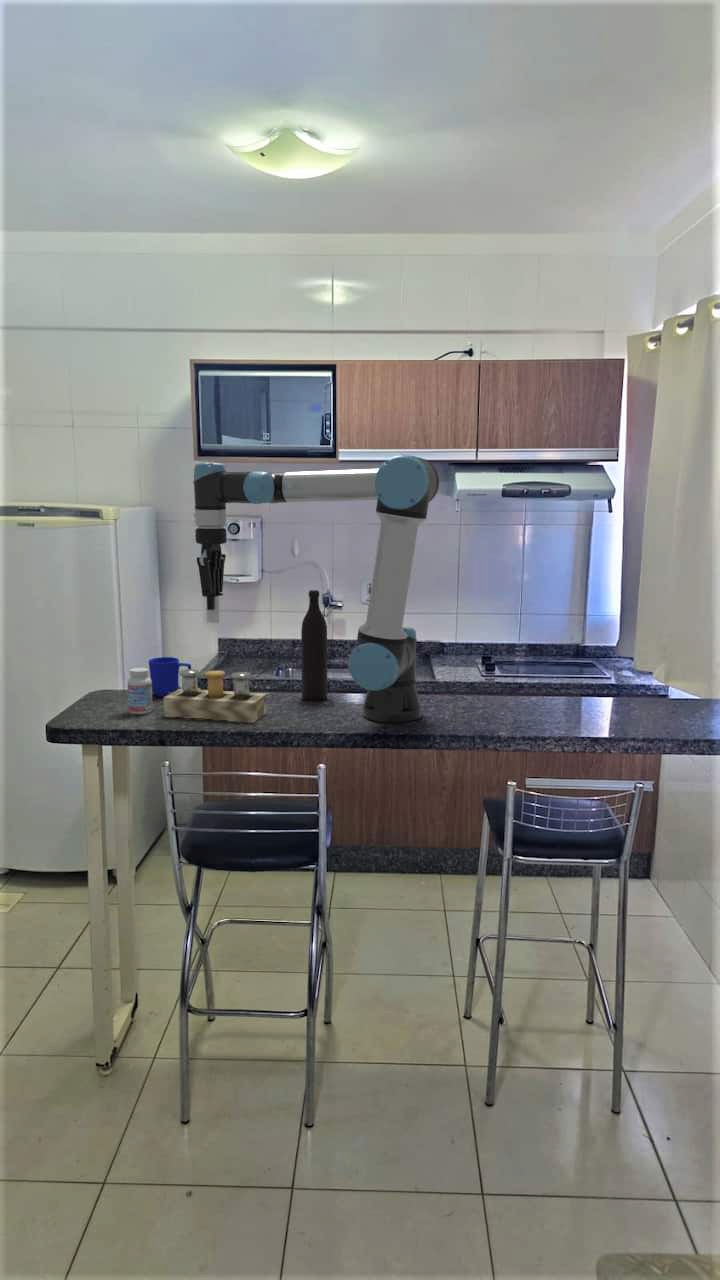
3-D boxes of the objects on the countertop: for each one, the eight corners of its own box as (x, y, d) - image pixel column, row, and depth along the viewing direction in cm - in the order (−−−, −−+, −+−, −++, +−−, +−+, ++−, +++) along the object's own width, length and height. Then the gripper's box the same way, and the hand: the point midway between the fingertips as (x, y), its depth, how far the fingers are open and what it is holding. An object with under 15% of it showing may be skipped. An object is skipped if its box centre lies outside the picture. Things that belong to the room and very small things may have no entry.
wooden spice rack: (267, 712, 207) (266, 693, 206) (253, 722, 197) (253, 703, 196) (181, 706, 212) (180, 688, 211) (164, 716, 202) (163, 697, 201)
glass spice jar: (253, 697, 204) (253, 672, 203) (247, 702, 199) (246, 676, 198) (236, 696, 205) (235, 671, 204) (229, 701, 200) (228, 675, 199)
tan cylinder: (228, 696, 206) (227, 671, 204) (221, 700, 201) (220, 675, 200) (210, 695, 207) (209, 670, 205) (203, 699, 202) (202, 674, 201)
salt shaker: (202, 694, 207) (201, 669, 206) (195, 699, 202) (194, 673, 201) (185, 693, 208) (184, 668, 207) (177, 697, 203) (176, 672, 202)
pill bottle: (124, 714, 205) (122, 671, 203) (136, 708, 210) (134, 666, 208) (145, 715, 203) (143, 672, 201) (157, 709, 209) (155, 667, 207)
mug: (185, 699, 219) (184, 664, 217) (144, 697, 221) (143, 662, 220) (197, 692, 227) (196, 658, 225) (158, 690, 229) (156, 656, 227)
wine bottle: (328, 695, 225) (327, 589, 219) (326, 701, 218) (326, 592, 212) (303, 694, 225) (302, 589, 220) (300, 701, 218) (299, 592, 213)
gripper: (207, 526, 203) (209, 617, 207) (185, 528, 191) (188, 625, 195) (234, 526, 201) (236, 618, 206) (214, 528, 189) (217, 627, 193)
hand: (213, 622), depth 200 cm, fingers closed
